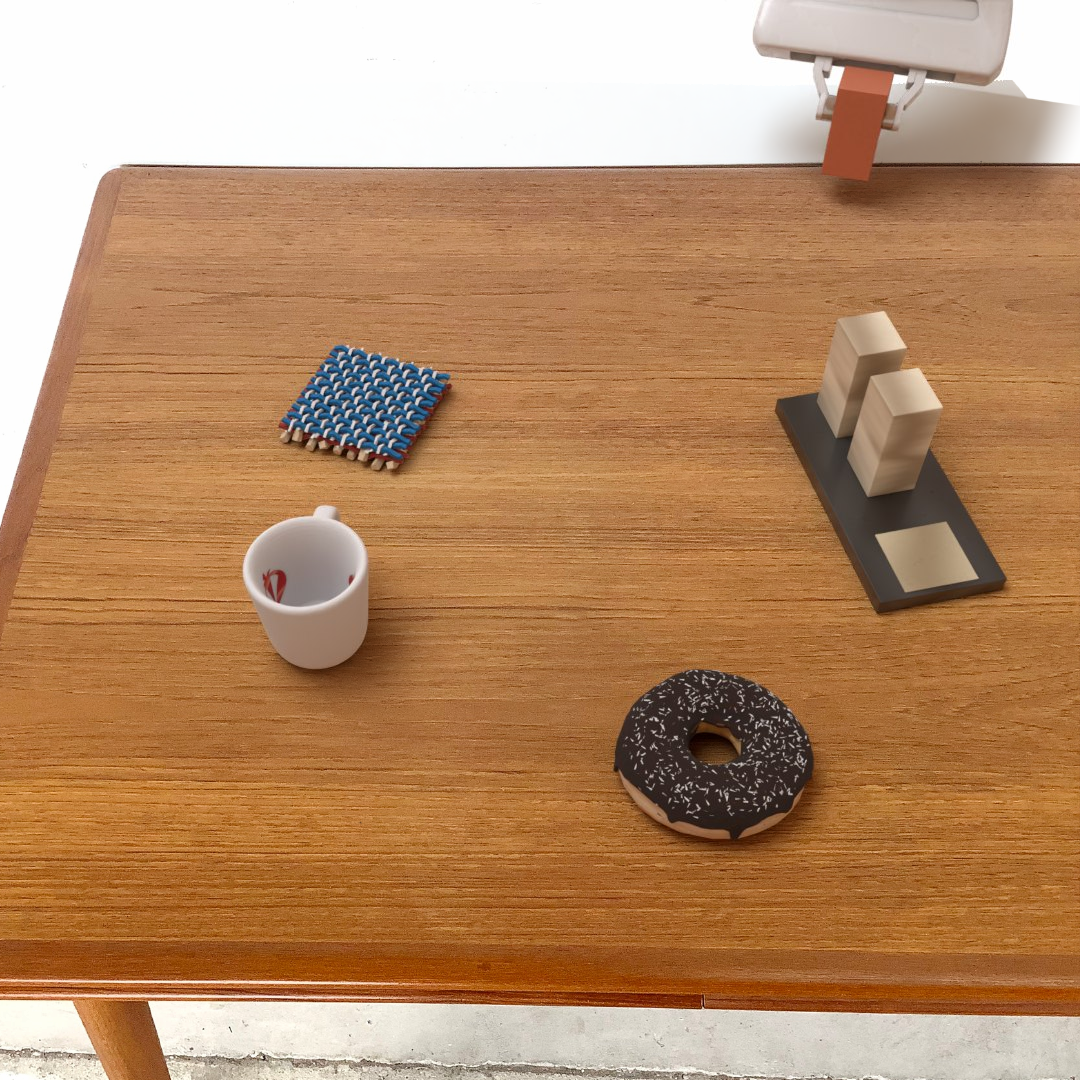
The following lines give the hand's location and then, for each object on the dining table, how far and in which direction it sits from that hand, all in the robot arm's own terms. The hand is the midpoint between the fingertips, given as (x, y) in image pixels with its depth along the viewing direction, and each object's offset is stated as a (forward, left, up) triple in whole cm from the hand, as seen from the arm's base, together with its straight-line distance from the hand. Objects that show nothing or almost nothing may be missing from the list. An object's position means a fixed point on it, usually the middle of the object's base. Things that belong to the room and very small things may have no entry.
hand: (856, 124), depth 109 cm
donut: (+29, +52, -8) cm, 60 cm away
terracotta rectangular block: (0, -1, -4) cm, 4 cm away
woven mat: (+45, +16, -8) cm, 48 cm away
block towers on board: (+10, +33, -7) cm, 36 cm away
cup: (+51, +35, -8) cm, 62 cm away
